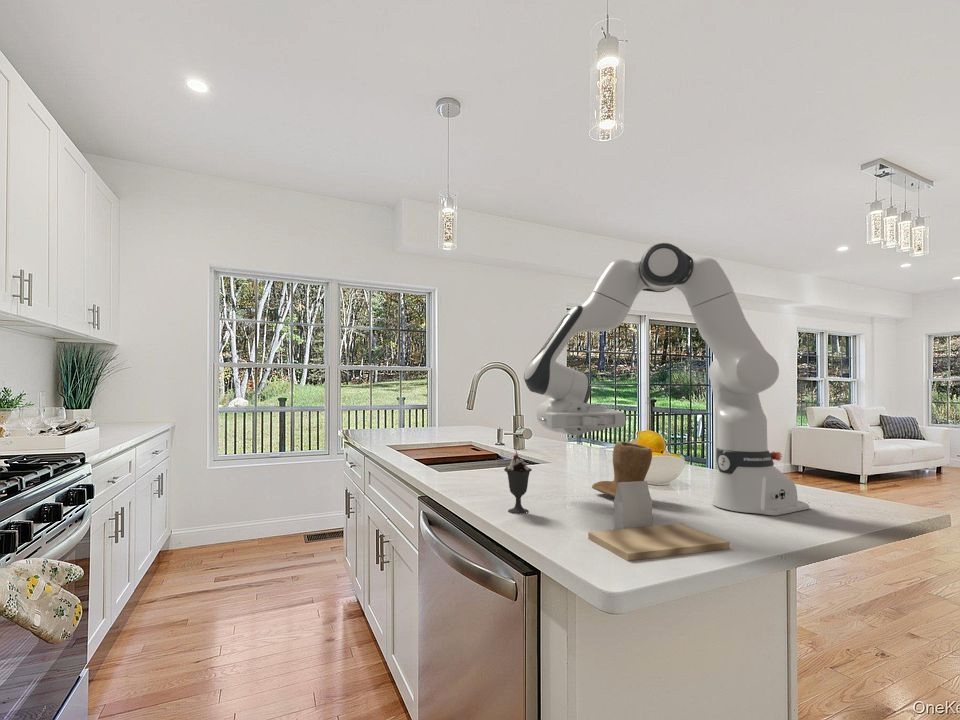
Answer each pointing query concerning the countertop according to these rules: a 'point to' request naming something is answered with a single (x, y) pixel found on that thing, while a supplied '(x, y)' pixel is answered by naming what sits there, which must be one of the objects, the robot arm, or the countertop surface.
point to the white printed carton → (632, 505)
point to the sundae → (518, 481)
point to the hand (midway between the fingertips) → (601, 421)
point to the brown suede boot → (626, 466)
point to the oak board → (657, 541)
